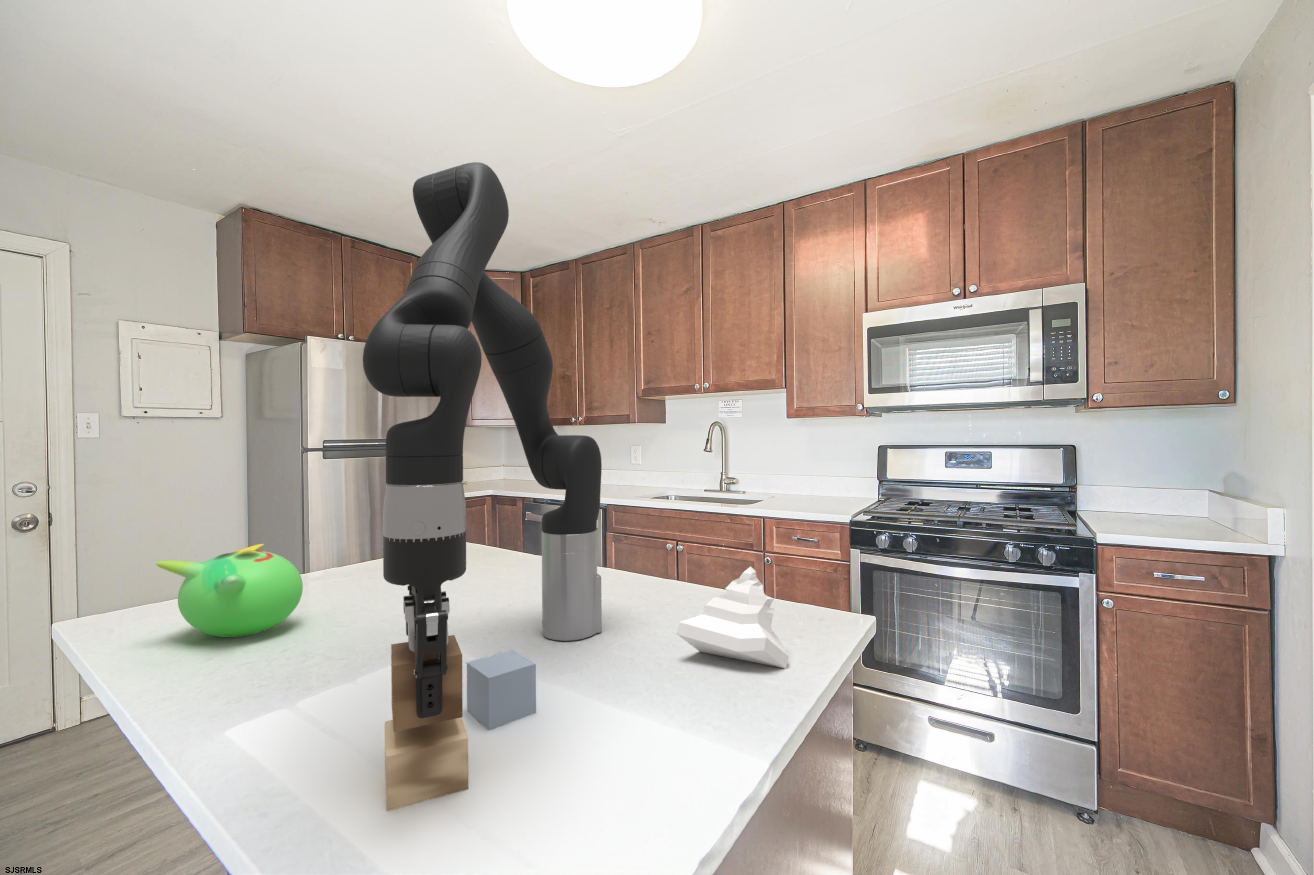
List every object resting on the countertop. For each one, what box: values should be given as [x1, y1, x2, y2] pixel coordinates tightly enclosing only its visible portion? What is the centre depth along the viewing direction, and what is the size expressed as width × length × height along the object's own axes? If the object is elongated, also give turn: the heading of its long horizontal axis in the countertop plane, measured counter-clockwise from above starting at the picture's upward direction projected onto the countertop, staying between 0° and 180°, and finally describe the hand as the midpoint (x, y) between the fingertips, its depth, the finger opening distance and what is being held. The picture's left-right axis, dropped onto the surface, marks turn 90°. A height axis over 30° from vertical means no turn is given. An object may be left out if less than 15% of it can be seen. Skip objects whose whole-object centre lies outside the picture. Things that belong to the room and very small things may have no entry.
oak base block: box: [384, 717, 469, 812], centre depth 56 cm, size 7×7×5 cm
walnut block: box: [390, 634, 464, 732], centre depth 56 cm, size 6×6×6 cm
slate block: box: [466, 649, 537, 731], centre depth 69 cm, size 6×6×6 cm
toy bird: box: [155, 543, 304, 638], centre depth 97 cm, size 18×17×15 cm
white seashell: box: [676, 565, 789, 669], centre depth 86 cm, size 12×15×14 cm
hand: (426, 699), depth 56 cm, fingers closed on walnut block, 6 cm apart
